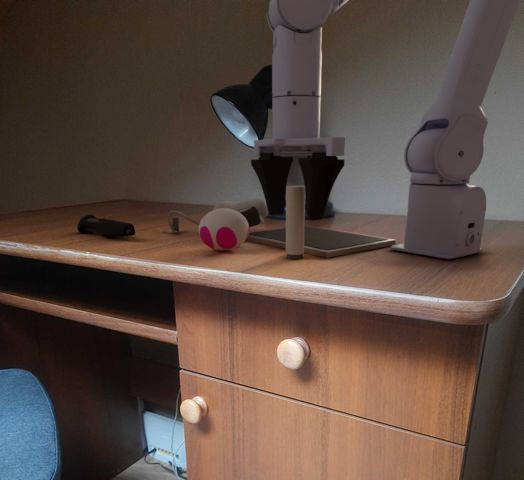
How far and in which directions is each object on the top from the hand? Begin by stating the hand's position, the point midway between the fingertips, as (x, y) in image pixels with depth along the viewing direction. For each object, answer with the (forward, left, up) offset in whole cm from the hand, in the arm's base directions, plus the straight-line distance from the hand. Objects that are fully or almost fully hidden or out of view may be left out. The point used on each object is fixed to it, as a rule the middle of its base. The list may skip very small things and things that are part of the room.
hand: (294, 216), depth 63 cm
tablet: (+7, -10, -5) cm, 13 cm away
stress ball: (+10, +4, -6) cm, 13 cm away
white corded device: (+24, -3, -6) cm, 25 cm away
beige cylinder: (0, 0, -5) cm, 5 cm away
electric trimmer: (+35, +12, -6) cm, 37 cm away
